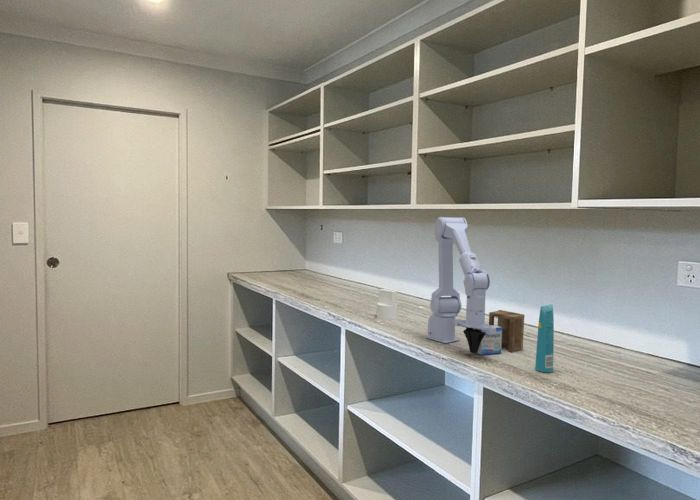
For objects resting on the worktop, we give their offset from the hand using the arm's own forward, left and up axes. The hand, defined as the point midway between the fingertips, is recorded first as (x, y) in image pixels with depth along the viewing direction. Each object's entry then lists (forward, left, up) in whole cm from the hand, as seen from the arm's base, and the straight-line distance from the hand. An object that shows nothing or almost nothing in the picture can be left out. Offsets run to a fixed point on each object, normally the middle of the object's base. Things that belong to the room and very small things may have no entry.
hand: (473, 352), depth 156 cm
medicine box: (0, +7, -1) cm, 7 cm away
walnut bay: (0, +17, -1) cm, 17 cm away
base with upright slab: (-59, +17, -2) cm, 61 cm away
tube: (+21, +5, -2) cm, 22 cm away
